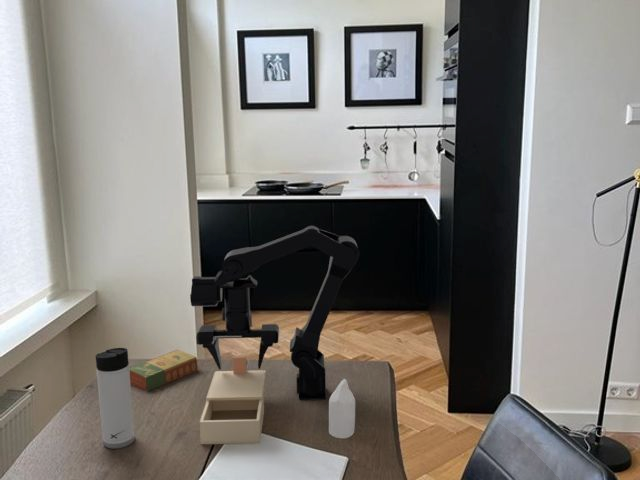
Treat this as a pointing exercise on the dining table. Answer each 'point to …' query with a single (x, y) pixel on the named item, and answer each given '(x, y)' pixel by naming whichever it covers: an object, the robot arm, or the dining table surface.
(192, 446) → the dining table surface
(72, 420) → the dining table surface
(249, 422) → the kraft box
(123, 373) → the travel mug
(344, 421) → the white pointed cylinder
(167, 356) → the carton
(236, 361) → the lid panel
